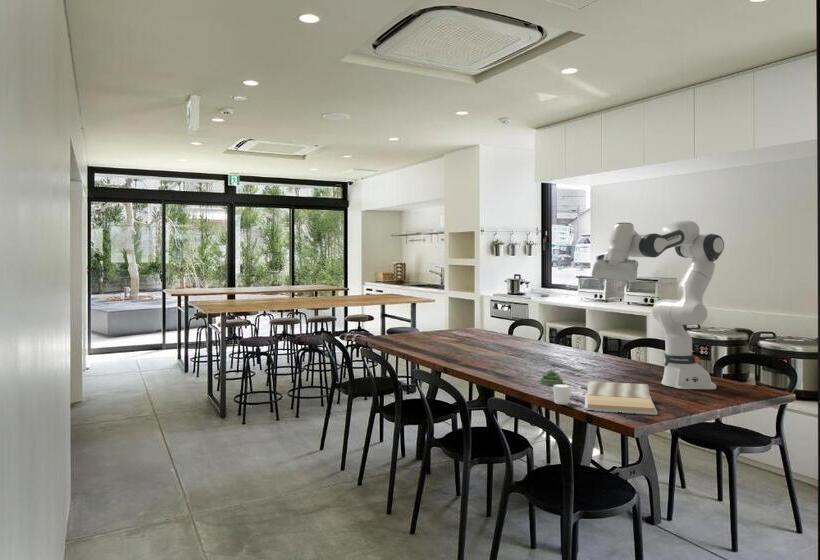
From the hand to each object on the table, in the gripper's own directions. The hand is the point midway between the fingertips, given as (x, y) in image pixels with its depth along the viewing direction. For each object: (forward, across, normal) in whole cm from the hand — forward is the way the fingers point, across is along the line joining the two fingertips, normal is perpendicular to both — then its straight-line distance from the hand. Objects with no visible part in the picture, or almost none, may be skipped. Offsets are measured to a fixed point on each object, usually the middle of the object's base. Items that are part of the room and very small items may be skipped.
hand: (610, 290), depth 246 cm
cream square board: (+46, -14, -1) cm, 48 cm away
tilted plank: (+42, -9, -6) cm, 43 cm away
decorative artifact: (+46, +28, -9) cm, 55 cm away
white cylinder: (+51, +2, +14) cm, 53 cm away
